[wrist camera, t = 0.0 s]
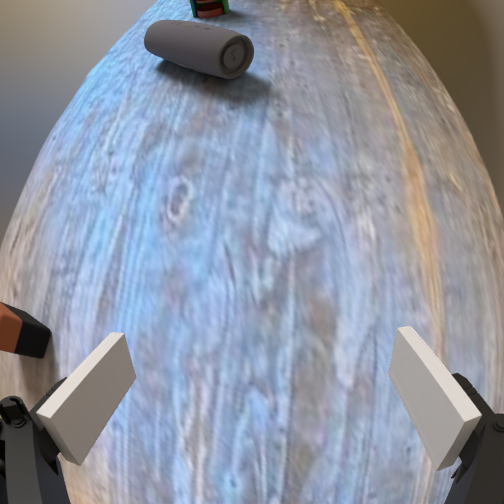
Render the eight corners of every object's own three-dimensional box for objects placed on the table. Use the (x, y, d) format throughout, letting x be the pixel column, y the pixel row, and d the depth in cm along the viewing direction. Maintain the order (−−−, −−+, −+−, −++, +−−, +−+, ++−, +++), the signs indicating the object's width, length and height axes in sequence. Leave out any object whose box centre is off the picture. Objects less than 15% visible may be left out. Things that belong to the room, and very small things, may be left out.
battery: (44, 360, 28) (-13, 348, 19) (17, 338, 30) (-35, 322, 20) (53, 330, 30) (-3, 311, 21) (25, 310, 31) (-26, 289, 22)
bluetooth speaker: (258, 71, 45) (254, 24, 36) (220, 94, 43) (210, 44, 34) (183, 46, 52) (173, 11, 43) (149, 66, 50) (136, 29, 41)
